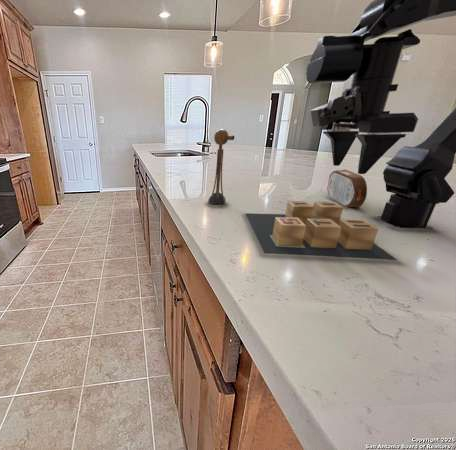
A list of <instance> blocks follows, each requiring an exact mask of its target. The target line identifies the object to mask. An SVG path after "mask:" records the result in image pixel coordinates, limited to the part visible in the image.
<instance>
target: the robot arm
mask: <svg viewBox="0 0 456 450" xmlns="http://www.w3.org/2000/svg"><path fill="white" fill-rule="evenodd" d="M451 17H456V0H372V1H371V2H370V3H369V4H368V5H367V6H366V7H365V8H364V11H363V13H362V15H361V17H360V20H359V22H358V23H357V24H356V26H355V27H353V29H352V30H351V31H350V33H349V34H348V35H341V36H336V35H324V36H322V37H321V38H319V39H318V40H317V42H316V43H317V44H316V48H315V49H314V51H313V52H312V55H311V57H310V59H309V62H308V63H307V67H306V75H305V76H306V80H307V83H308V84H325V83H326V84H327V83H343V82H344V83H345V82H346V81H348V80H349V79H350V78H351V77H352V80H351V83H350V88H346V89H344V91H342V94H341V95H339V96H337V97H336V98H332V99H329V101H328V102H327V103H325V104H322V105H320V106H317V107H314V108H312V109H310V116H311V117H310V118H311V123H312V127H316V126H317V127H320V128H319V130H321V131H322V130H323V131H322V134H323V135H325V136H326V137H327V138H328V139H329V141H330V146H331V155H332V156H331V157H332V166H335V167H339V166H340V165H341V164H342V162H343V161H344V160H345V158H346V156H347V154H348V152H349V150H350V149H351V147H352V146H353V144H354V142H355V140H356V139H358V141H359V143H361V148H360V153H359V160H358V165H357V174H359V175H366V174H367V172H368V171H370V169H371V168H373V166H374V165H375V164H376V163H377V162H379V160H380V159H381V158H382V157H383V156H384V155H385V154H386V153H387V152H388V151H389V150H390V149H391V148H392V147H393V146H395V144H396V143H398V142H399V140H400V139H403V138H405V137H406V136H407V134H406V133H414V132H415V130H416V127H417V124H418V121H419V118H418V116H417V115H416V114H415V113H414V112H398V113H397V112H396V113H395V112H394V113H391V111H390V110H385V109H386V105H387V102H388V99H389V95H390V93H391V92H397V91H398V87H399V84H398V83H394V84H393V82H394V79H395V76H396V72H397V68H398V65H399V62H400V58H401V56H402V53H403V52H402V51H403V50H405V49H408V48H411V47H415V46H417V45H419V44H420V43H421V39H420V38H419V37H418V36H417V35H416V34H414V32H413V31H412V29H411V28H409V27H410V26H414V25H417V24H420V23H423V22H426V21H432V20H439V19H444V18H451ZM405 28H408V29H407V30H404V31H401V32H399V33H398V34H397V35H396V36H386V35H389V34H392V33H395V32H398V31H400V30H403V29H405ZM377 38H378V39H377ZM372 39H376V40H374V41H373V42H372V43H369V44H365V43H366V42H367V41H370V40H372ZM360 133H361V134H360ZM455 155H456V107H455V108H454V109H453V110H452V111H451V112H450V113H449V114H448V115H447V117H446V118H444V120H443V121H441V123H440V124H439V125H438V126H437V127H436V128H435V129H434V130H433V131H432V132H431V134H429V135H428V136H427V138H426V139H425V140H424V141H422V142H421V143H419V144H417V145H415V146H407V145H404V146H402V147H401V148H399V149H398V150H397V152H396V153H395V155H394V156H393V157H392V158H391V159H390V160H388V161H387V162H386V163H385V164H386V167H385V168H384V170H383V171H382V175H383V181H384V184H385V191H386V192H387V193H391V194H390V197H389V199H388V200H387V201H386V202H385V205H384V208H383V210H382V213H381V215H378V216H377V218H379V219H380V220H382V221H383V222H385V223H387V224H390V225H391V226H393V227H395V228H399V229H425V230H426V229H430V230H433V229H434V227H432V226H430V225H428V224H429V222H430V219H431V217H432V214H433V213H434V210H435V208H436V205H439V204H446V203H447V202H449V200H450V199H451V198H452V197H453V196H454V194H455V190H453V187H452V186H450V184H449V182H448V181H447V180H446V179H445V178H446V177H447V176H448V175H449V173H451V171H452V170H453V168H454V167H453V166H454V162H455Z"/></svg>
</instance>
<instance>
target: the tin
mask: <svg viewBox="0 0 456 450" xmlns="http://www.w3.org/2000/svg"><path fill="white" fill-rule="evenodd" d="M328 178H329V179H328V182H327V194H328V196H329V197H330V198H331V199H333V200H335V202H338V203H339V204H341V205H343V206H344V207H347V208H360V207H361V206H362V205H363V204H364V203H365V202H366V199H367V194H368V185H367V181H366V179H365V178H364V176H363V175H362V174H358V173H356V172H354V171H351V170H348V169H337V170H333V171H332V172H331V173H330V174H329V176H328Z"/></svg>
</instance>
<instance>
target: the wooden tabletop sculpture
mask: <svg viewBox="0 0 456 450" xmlns="http://www.w3.org/2000/svg"><path fill="white" fill-rule="evenodd" d="M213 139H214V142H215V143H216V145H218V148H217V153H216V168H215V176H214V177H215V178H214V185H213V189H212V192H211V195H210V196H209V198H208V201H207V203H208V204H209V205H212V206H224V205H225V204H227V202H226V197H225V196H224V192H223V191H224V190H223V164H224V163H223V161H224V150H225V149H224V148H223V145H226V144H227V143H228V141H234V140H235V135H231V134H230V135H229V133H228V131H227V130H226V129H223V128H220V129H218V130H216V132H215V133H214V137H213ZM220 191H221V192H220Z"/></svg>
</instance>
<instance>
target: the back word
mask: <svg viewBox="0 0 456 450" xmlns="http://www.w3.org/2000/svg"><path fill="white" fill-rule="evenodd" d="M343 210H344V207H343V206H342V205H340V204H338V203H337V202H336V201H323V200H322V201H321V200H318V201H316V200H314V201H313V205H312V204H311V203H310V202H309V201H307V200H287V203H286V209H285V217H291V218H299V219H300V220H301V221H302V222H303V223H304V224H306V220H307V218H311V219H331V220H332V221H334V222H335V223H336V224H338V223H339V220H340V219H341V217H342V214H343Z"/></svg>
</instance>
